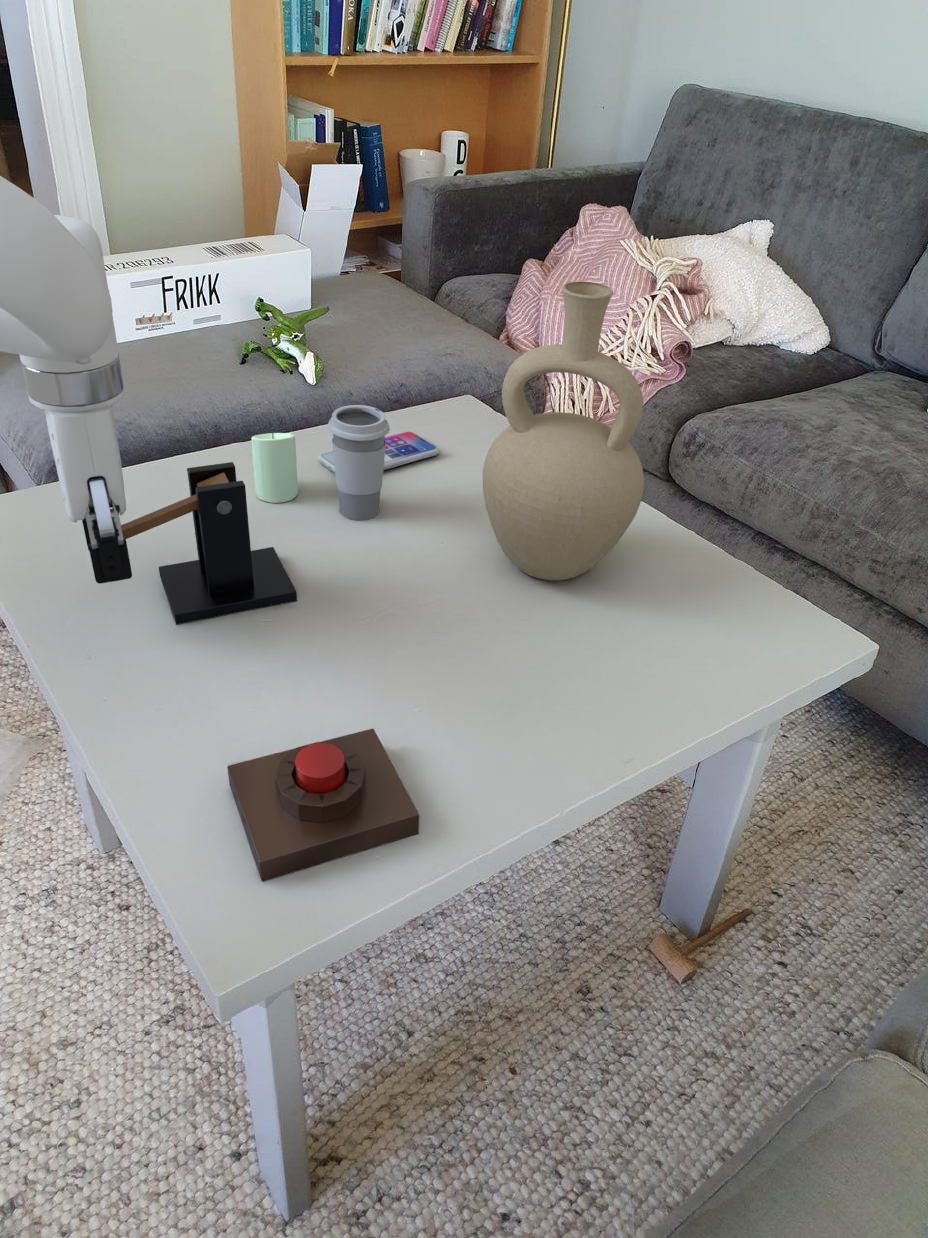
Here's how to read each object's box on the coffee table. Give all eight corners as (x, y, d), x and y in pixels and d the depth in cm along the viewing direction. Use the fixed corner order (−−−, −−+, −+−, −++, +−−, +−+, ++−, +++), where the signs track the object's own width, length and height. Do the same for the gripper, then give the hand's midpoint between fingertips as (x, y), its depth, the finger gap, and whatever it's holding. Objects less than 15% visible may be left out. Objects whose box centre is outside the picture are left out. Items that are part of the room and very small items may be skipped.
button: (304, 799, 66) (303, 782, 65) (290, 766, 69) (289, 749, 68) (351, 786, 68) (351, 769, 67) (336, 754, 70) (335, 737, 69)
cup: (400, 514, 108) (402, 419, 101) (354, 531, 104) (353, 434, 97) (363, 491, 112) (363, 398, 105) (318, 506, 108) (315, 411, 101)
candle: (254, 485, 112) (248, 422, 107) (295, 482, 113) (292, 420, 108) (257, 505, 108) (252, 440, 103) (300, 501, 109) (297, 438, 104)
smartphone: (314, 454, 117) (410, 429, 125) (315, 461, 118) (410, 435, 126) (345, 476, 112) (443, 448, 120) (345, 483, 113) (442, 455, 121)
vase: (459, 591, 96) (480, 302, 78) (493, 516, 109) (517, 254, 91) (618, 621, 93) (676, 329, 76) (632, 540, 106) (685, 276, 89)
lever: (109, 565, 84) (97, 545, 82) (102, 538, 88) (90, 518, 86) (242, 509, 86) (232, 489, 85) (229, 485, 90) (220, 465, 88)
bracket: (176, 624, 88) (158, 508, 81) (159, 576, 95) (141, 464, 87) (297, 601, 93) (291, 488, 85) (273, 556, 99) (266, 447, 92)
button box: (261, 882, 65) (257, 845, 62) (229, 785, 72) (224, 748, 70) (418, 834, 69) (420, 797, 67) (373, 747, 76) (373, 711, 74)
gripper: (18, 347, 81) (59, 526, 91) (33, 424, 68) (77, 621, 79) (108, 340, 84) (137, 515, 94) (137, 413, 71) (167, 604, 82)
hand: (109, 561), depth 86 cm, fingers closed on lever, 5 cm apart
